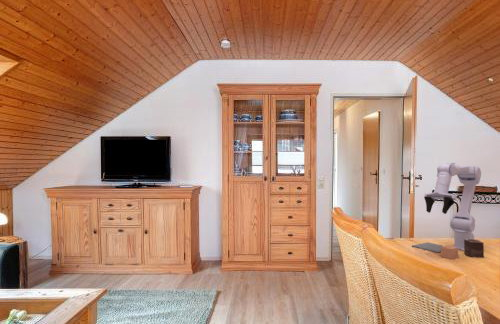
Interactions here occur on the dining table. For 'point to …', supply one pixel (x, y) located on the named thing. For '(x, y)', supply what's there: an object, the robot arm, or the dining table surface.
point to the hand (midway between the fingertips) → (435, 212)
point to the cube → (449, 252)
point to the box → (473, 248)
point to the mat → (429, 247)
